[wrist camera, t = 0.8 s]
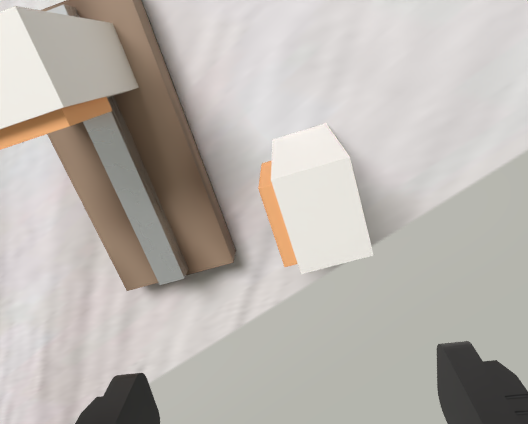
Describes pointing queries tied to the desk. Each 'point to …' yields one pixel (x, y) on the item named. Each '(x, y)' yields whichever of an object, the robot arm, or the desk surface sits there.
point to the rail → (156, 153)
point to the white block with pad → (313, 201)
